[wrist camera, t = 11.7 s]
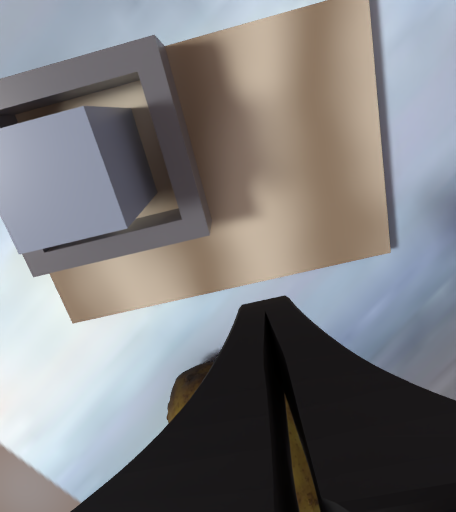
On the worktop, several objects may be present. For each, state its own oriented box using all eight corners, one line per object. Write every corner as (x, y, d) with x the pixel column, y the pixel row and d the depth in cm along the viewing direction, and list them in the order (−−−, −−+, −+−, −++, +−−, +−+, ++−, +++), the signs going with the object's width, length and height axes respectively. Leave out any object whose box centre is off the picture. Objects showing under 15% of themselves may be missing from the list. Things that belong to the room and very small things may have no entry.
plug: (130, 107, 17) (83, 105, 11) (157, 192, 18) (127, 228, 12) (39, 132, 17) (-52, 142, 11) (72, 213, 18) (6, 257, 13)
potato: (289, 317, 21) (322, 425, 14) (344, 463, 26) (392, 605, 18) (160, 360, 23) (129, 482, 15) (235, 493, 27) (238, 638, 20)
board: (362, -7, 16) (367, -11, 15) (385, 248, 20) (390, 252, 19) (-23, 101, 17) (-31, 101, 16) (76, 317, 21) (72, 323, 21)
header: (164, 46, 16) (154, 34, 13) (211, 220, 19) (210, 235, 16) (-20, 98, 16) (-61, 96, 14) (53, 258, 19) (29, 278, 17)
